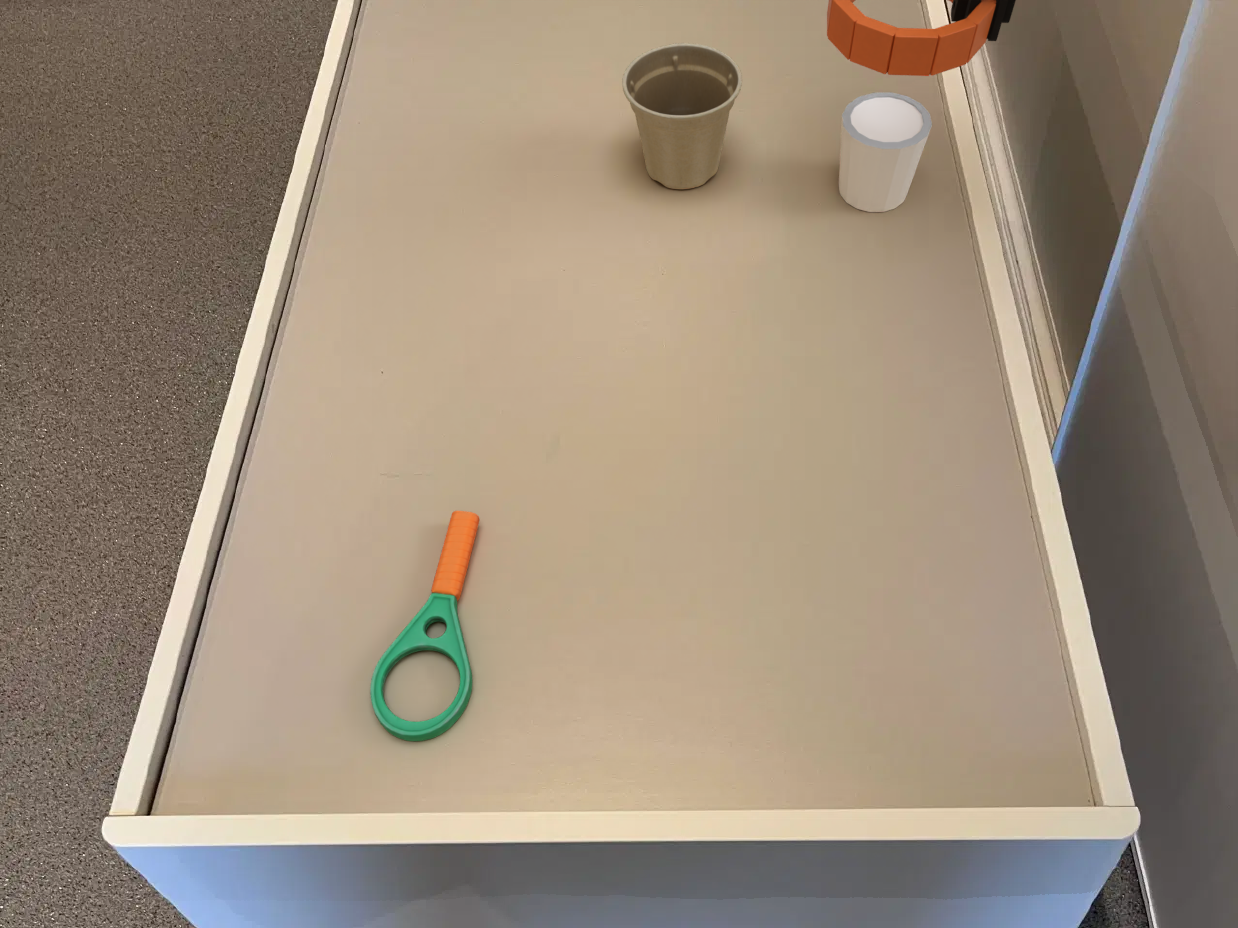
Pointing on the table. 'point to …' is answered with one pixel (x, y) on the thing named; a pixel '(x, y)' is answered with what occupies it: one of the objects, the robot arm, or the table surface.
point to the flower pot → (682, 109)
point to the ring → (906, 40)
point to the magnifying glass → (450, 643)
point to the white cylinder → (881, 149)
